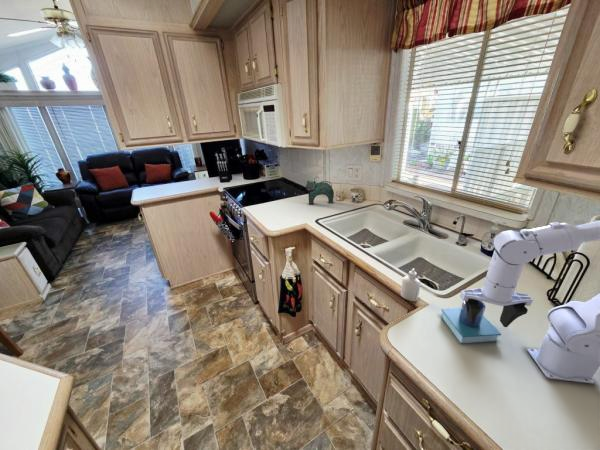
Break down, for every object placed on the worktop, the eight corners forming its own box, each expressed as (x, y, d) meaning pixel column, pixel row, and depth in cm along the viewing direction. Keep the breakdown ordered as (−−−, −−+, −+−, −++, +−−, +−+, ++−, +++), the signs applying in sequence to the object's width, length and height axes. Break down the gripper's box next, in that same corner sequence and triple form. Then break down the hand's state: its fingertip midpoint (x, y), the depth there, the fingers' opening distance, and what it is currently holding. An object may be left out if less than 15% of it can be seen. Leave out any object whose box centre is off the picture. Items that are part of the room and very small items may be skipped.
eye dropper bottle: (407, 290, 91) (411, 263, 86) (420, 300, 86) (425, 271, 81) (398, 294, 89) (402, 266, 84) (410, 304, 84) (414, 275, 79)
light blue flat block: (473, 313, 79) (475, 306, 78) (498, 341, 69) (501, 334, 68) (439, 316, 79) (441, 308, 78) (460, 344, 69) (462, 336, 68)
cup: (475, 314, 75) (480, 297, 72) (483, 328, 70) (489, 310, 67) (456, 313, 76) (460, 296, 73) (463, 326, 71) (468, 309, 68)
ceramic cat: (306, 205, 180) (305, 178, 172) (306, 202, 186) (305, 176, 177) (334, 203, 180) (334, 176, 171) (333, 200, 185) (332, 174, 177)
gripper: (525, 271, 61) (509, 313, 66) (460, 268, 63) (450, 309, 69) (546, 290, 54) (526, 335, 60) (472, 286, 57) (460, 329, 63)
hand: (486, 322), depth 64 cm, fingers open, 7 cm apart
